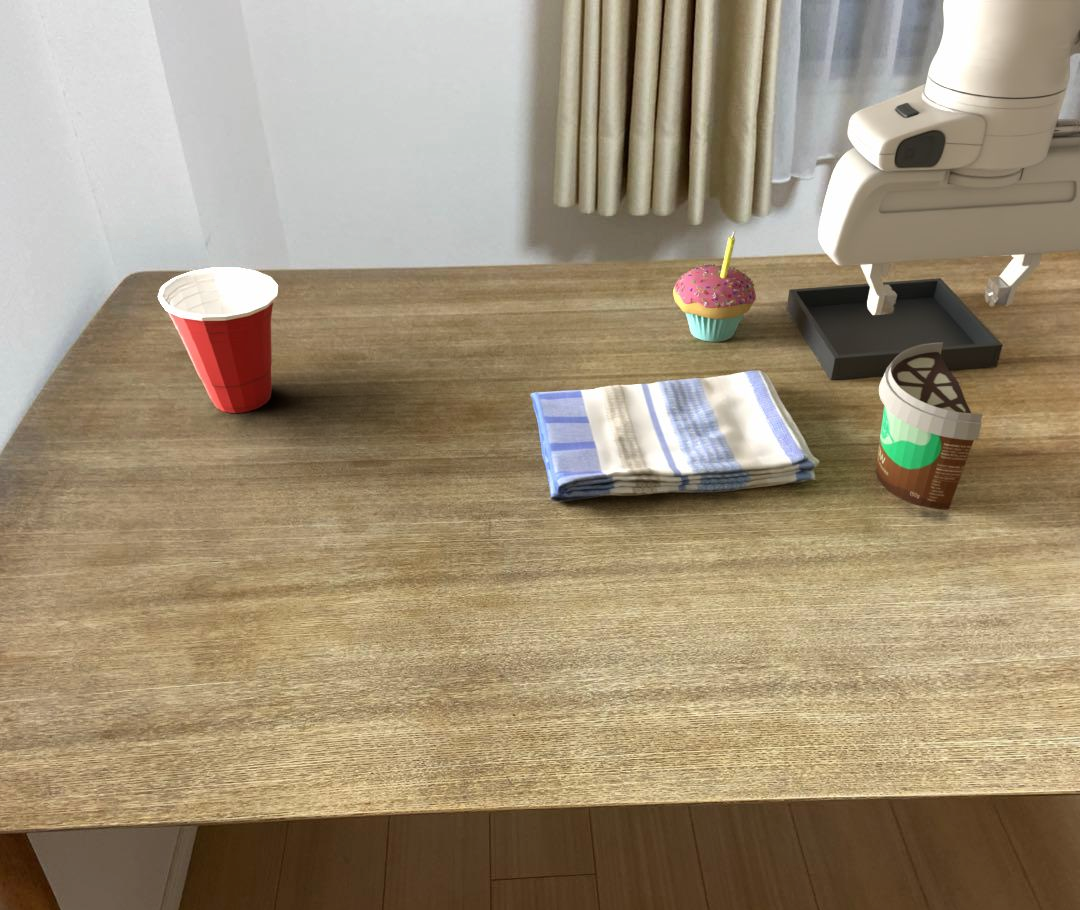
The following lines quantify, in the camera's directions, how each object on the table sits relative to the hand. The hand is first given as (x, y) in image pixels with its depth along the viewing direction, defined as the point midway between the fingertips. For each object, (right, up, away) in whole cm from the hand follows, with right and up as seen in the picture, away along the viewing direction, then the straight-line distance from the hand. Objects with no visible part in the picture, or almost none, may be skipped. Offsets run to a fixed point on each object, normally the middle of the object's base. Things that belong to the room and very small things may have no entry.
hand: (938, 307), depth 79 cm
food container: (+1, -13, +11) cm, 16 cm away
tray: (+6, +4, +29) cm, 30 cm away
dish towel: (-19, -9, +15) cm, 26 cm away
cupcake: (-12, +4, +31) cm, 34 cm away
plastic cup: (-60, -4, +23) cm, 65 cm away
